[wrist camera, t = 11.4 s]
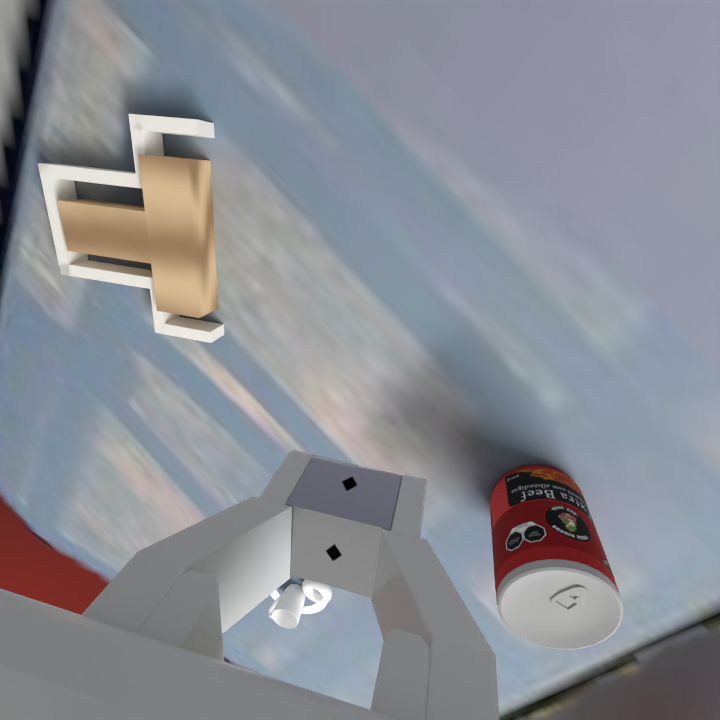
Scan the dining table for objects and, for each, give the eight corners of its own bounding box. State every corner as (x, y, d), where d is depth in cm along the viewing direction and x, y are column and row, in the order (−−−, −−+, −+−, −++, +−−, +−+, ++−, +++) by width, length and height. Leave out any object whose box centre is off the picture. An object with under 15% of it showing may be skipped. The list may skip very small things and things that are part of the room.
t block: (79, 147, 34) (46, 144, 32) (210, 160, 32) (187, 158, 30) (103, 288, 39) (76, 296, 37) (218, 308, 37) (199, 318, 35)
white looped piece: (333, 569, 48) (322, 601, 44) (337, 616, 51) (327, 650, 47) (263, 557, 50) (247, 586, 46) (271, 603, 53) (256, 634, 49)
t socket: (51, 109, 34) (25, 105, 32) (213, 123, 31) (196, 119, 29) (89, 310, 41) (69, 316, 39) (224, 334, 38) (211, 342, 36)
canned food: (598, 478, 35) (648, 593, 25) (558, 543, 39) (589, 666, 29) (508, 449, 36) (523, 550, 26) (477, 515, 40) (480, 626, 30)
